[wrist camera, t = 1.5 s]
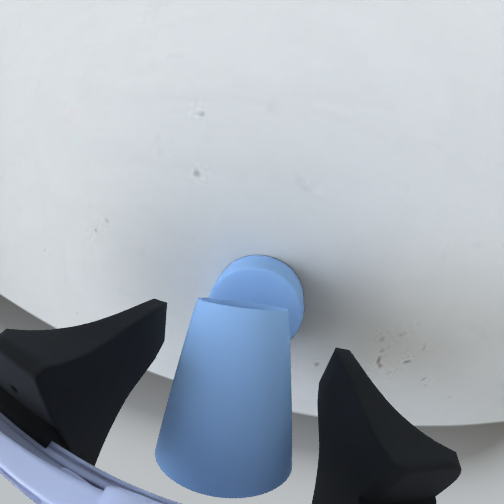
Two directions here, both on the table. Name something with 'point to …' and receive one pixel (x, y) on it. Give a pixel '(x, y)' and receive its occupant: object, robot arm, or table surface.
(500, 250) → the table surface
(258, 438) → the spotlight
